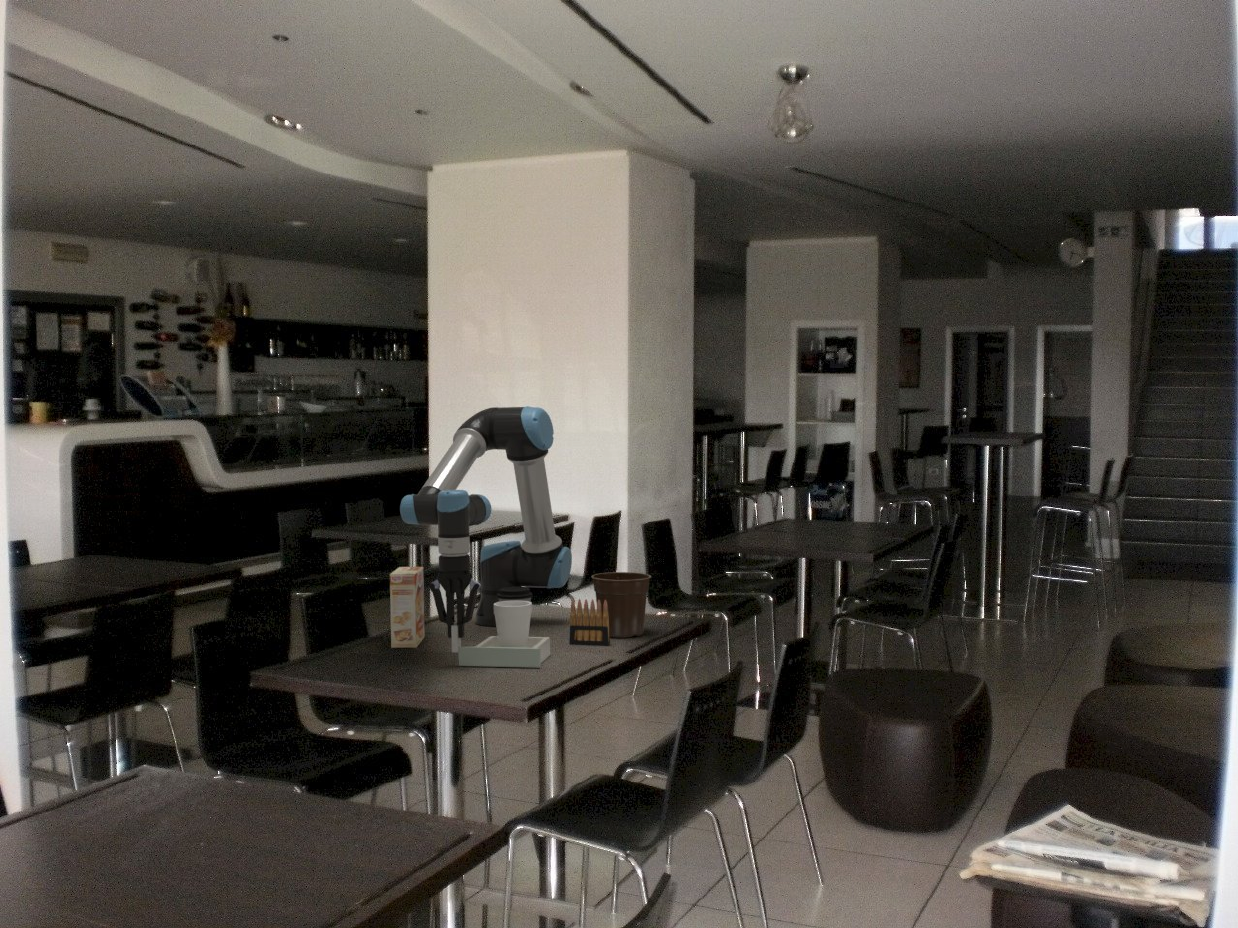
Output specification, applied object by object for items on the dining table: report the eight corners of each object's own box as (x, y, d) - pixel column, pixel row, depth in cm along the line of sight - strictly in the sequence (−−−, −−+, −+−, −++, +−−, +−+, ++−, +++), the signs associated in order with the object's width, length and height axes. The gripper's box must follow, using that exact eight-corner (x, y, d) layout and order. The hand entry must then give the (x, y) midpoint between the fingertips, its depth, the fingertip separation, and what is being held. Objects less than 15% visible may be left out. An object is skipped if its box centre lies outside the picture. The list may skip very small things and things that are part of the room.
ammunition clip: (610, 644, 323) (609, 599, 323) (608, 646, 321) (608, 600, 321) (571, 643, 326) (570, 598, 325) (569, 644, 324) (568, 599, 323)
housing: (491, 653, 314) (490, 636, 313) (550, 654, 311) (549, 637, 311) (474, 665, 300) (474, 647, 299) (536, 666, 297) (536, 648, 297)
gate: (460, 664, 300) (459, 646, 300) (540, 666, 296) (540, 647, 296) (458, 665, 299) (458, 647, 298) (539, 667, 295) (539, 648, 295)
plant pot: (649, 628, 346) (649, 570, 345) (654, 639, 330) (653, 579, 329) (591, 629, 345) (590, 572, 344) (593, 640, 329) (592, 580, 328)
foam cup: (498, 660, 299) (497, 607, 298) (491, 653, 308) (490, 601, 307) (536, 658, 301) (535, 605, 301) (528, 651, 310) (527, 599, 310)
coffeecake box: (417, 647, 323) (415, 573, 322) (390, 648, 323) (388, 573, 322) (425, 636, 338) (424, 565, 337) (399, 637, 338) (398, 566, 337)
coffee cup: (536, 642, 327) (535, 586, 327) (530, 649, 318) (529, 591, 317) (501, 642, 328) (500, 586, 327) (494, 649, 319) (492, 591, 318)
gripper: (423, 556, 296) (425, 653, 297) (475, 556, 293) (478, 654, 295) (433, 552, 303) (435, 647, 304) (484, 552, 301) (486, 648, 302)
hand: (456, 651), depth 299 cm, fingers closed
